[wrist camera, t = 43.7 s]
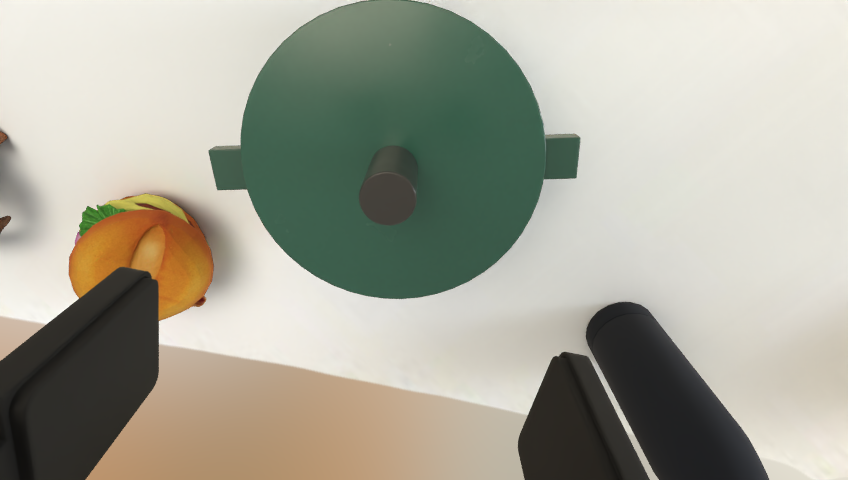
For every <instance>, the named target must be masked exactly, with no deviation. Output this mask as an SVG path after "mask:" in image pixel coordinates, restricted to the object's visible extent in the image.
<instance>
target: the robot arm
mask: <svg viewBox="0 0 848 480" xmlns="http://www.w3.org/2000/svg"><path fill="white" fill-rule="evenodd" d="M158 351H159V285H158V281H157V280H155V279H152V276H151V274H150V273H149V272H148V271H143V270H138V269H132V268H127V267H119V268H117V269H116V270H115V271H113V272H112V273H111V274H110V275H108V276H107V277H106V278H105V279H103V280H102V281H101V282H100V283H98V284H97V285H96V286H95V287H93V288H92V289H91V290H90V291H88V292H87V293H86V294H84V295H83V296H82V297H81V298H79V299H78V300H77V301H76V302H74V303H73V304H72V305H71V306H69V307H68V308H67V309H66V310H64V311H63V312H62V313H61V314H59V315H58V316H57V317H56V318H54V319H53V320H52V321H51V322H49V323H48V324H47V325H45V326H44V327H43V328H42V329H40V330H39V331H38V332H37V333H35V334H34V335H33V336H31V337H30V338H29V339H28V340H26V342H24V343H23V344H21V345H20V346H19V347H18V348H16V349H15V350H14V351H13V352H11V353H10V354H9V355H8V356H6V358H4V359H3V360H1V361H0V480H85V479H86V478H87V477H88V475H89V474H90V472H91V471H92V470H93V469H94V467H95V466H96V465H97V463H98V462H99V460H100V459H101V458H102V457H103V455H104V454H105V452H106V451H107V450H108V448H109V447H110V446H111V444H112V443H113V442H114V440H115V439H116V438H117V436H118V435H119V434H120V432H121V431H122V429H123V428H124V427H125V426H126V424H127V423H128V422H129V420H130V419H131V418H132V416H133V415H134V413H135V412H136V411H137V409H138V408H139V407H140V405H141V404H142V403H143V401H144V400H145V398H146V397H147V396H148V395H149V393H150V392H151V391H152V389H153V387H154V386H155V384H156V381H157V378H158V372H159V367H158V366H159V358H158V357H159V352H158ZM518 451H519V456H520V461H521V465H522V469H523V474H524V478H525V480H650V479H649V478H648V475H647V473H646V472H645V469H644V467H643V465H642V463H641V461H640V459H639V457H638V455H637V453H636V451H635V450H634V447H633V445H632V443H631V441H630V439H629V437H628V435H627V433H626V431H625V429H624V427H623V425H622V423H621V421H620V419H619V417H618V415H617V413H616V411H615V409H614V407H613V405H612V403H611V401H610V399H609V397H608V395H607V393H606V391H605V389H604V387H603V385H602V383H601V381H600V379H599V377H598V375H597V373H596V371H595V369H594V367H593V365H592V363H591V361H590V359H589V358H588V357H587V356H584V355H579V354H574V353H569V352H562V353H561V354H560V356H559V357H558V356H555V357H553V358H552V360H551V362H550V365H549V367H548V369H547V372H546V374H545V376H544V379H543V381H542V383H541V386H540V388H539V391H538V393H537V395H536V398H535V400H534V402H533V405H532V407H531V409H530V412H529V414H528V416H527V419H526V421H525V424H524V426H523V429H522V431H521V433H520V436H519V440H518Z"/></svg>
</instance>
